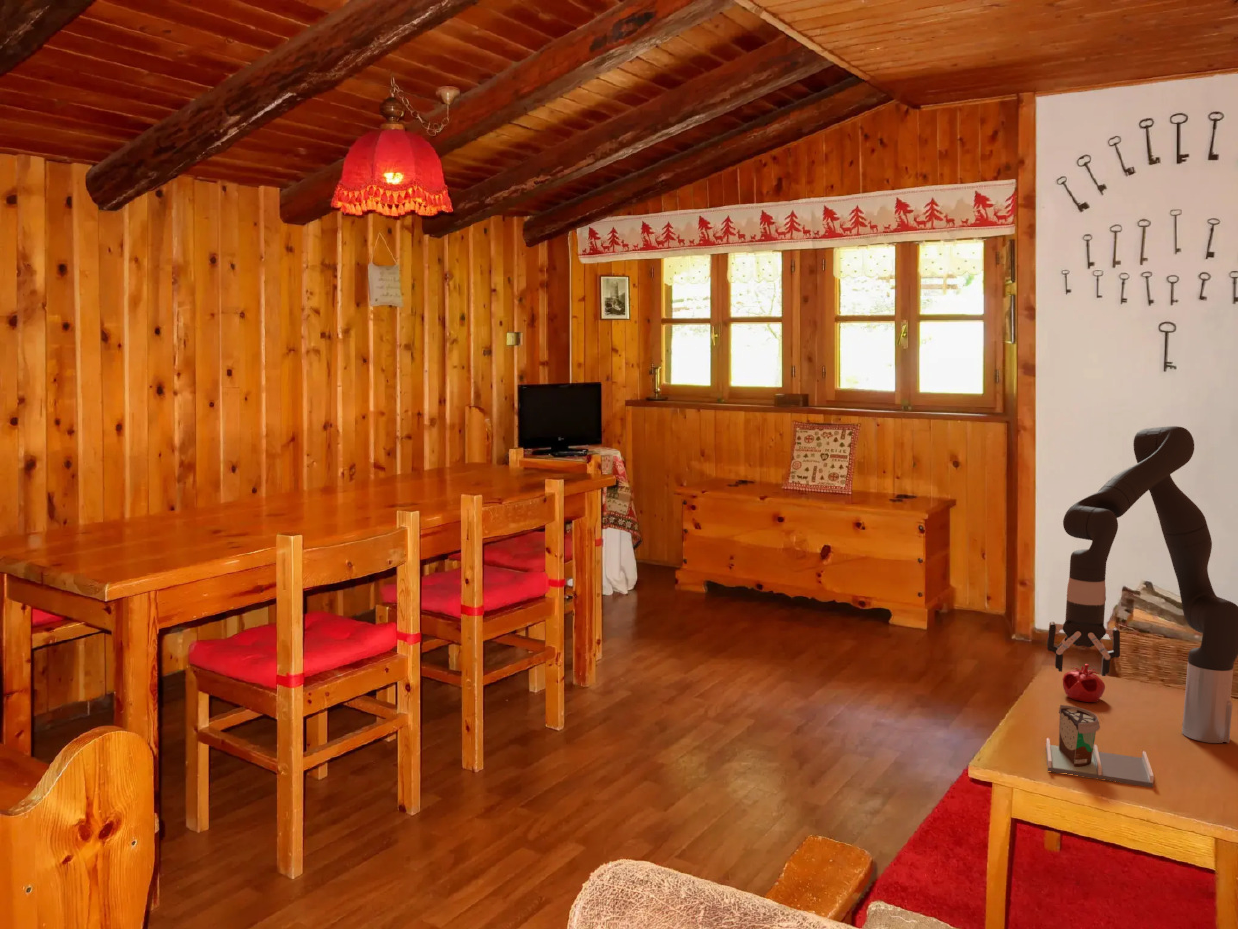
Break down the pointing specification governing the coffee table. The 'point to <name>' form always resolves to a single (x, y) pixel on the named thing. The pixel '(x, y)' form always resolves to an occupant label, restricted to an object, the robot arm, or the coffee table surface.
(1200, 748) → the coffee table surface
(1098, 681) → the pomegranate
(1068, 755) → the food container
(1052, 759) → the sorting board
